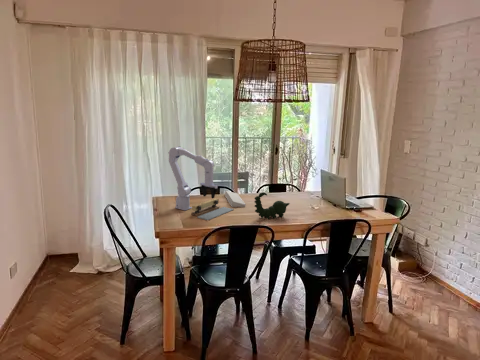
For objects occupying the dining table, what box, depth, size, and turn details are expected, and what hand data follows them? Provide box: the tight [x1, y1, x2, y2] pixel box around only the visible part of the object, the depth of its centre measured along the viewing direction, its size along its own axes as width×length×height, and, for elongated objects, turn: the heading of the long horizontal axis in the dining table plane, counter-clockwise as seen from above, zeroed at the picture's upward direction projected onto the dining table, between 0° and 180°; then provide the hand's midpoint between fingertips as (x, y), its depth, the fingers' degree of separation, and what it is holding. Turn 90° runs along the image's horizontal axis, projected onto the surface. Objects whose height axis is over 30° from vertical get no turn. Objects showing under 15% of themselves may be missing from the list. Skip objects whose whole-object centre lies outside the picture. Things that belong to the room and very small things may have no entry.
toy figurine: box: [254, 191, 290, 220], centre depth 238 cm, size 9×19×25 cm
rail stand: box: [191, 200, 220, 217], centre depth 247 cm, size 6×24×6 cm, turn 147°
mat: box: [196, 206, 235, 221], centre depth 243 cm, size 9×30×1 cm, turn 147°
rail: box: [191, 197, 220, 212], centre depth 247 cm, size 3×26×3 cm, turn 147°
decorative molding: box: [224, 190, 246, 208], centre depth 277 cm, size 34×5×10 cm
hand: (208, 197), depth 246 cm, fingers open, 7 cm apart
